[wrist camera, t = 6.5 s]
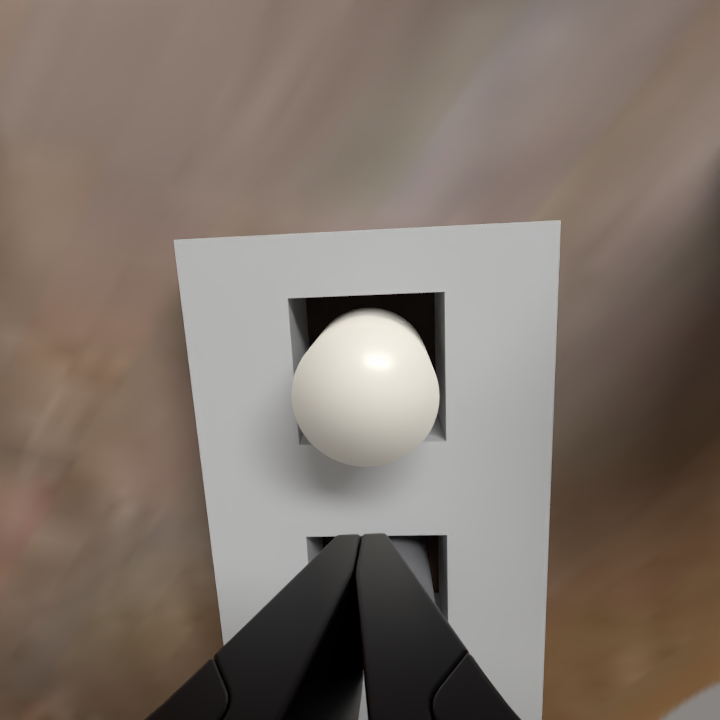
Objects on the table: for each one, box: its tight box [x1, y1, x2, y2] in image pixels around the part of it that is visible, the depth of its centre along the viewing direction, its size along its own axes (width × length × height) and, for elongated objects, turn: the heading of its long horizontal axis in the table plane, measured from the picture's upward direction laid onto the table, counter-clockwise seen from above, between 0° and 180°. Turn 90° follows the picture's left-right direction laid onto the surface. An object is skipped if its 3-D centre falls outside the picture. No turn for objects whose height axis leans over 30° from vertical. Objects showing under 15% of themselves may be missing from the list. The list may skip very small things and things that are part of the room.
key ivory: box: [291, 307, 440, 467], centre depth 15 cm, size 4×4×4 cm
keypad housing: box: [174, 220, 561, 720], centre depth 20 cm, size 12×26×4 cm, turn 3°
